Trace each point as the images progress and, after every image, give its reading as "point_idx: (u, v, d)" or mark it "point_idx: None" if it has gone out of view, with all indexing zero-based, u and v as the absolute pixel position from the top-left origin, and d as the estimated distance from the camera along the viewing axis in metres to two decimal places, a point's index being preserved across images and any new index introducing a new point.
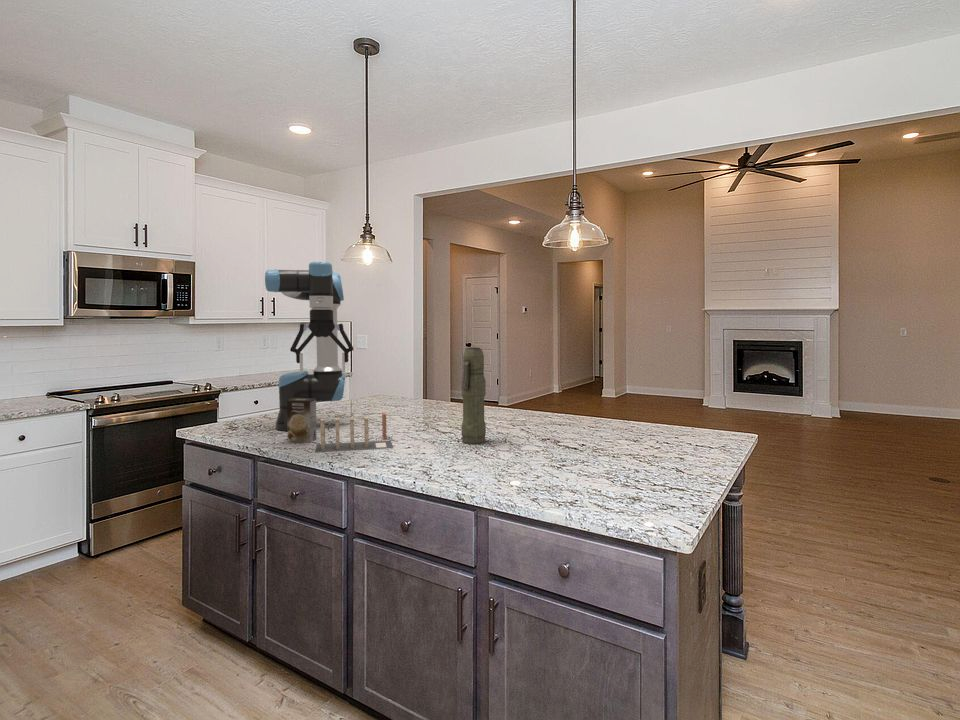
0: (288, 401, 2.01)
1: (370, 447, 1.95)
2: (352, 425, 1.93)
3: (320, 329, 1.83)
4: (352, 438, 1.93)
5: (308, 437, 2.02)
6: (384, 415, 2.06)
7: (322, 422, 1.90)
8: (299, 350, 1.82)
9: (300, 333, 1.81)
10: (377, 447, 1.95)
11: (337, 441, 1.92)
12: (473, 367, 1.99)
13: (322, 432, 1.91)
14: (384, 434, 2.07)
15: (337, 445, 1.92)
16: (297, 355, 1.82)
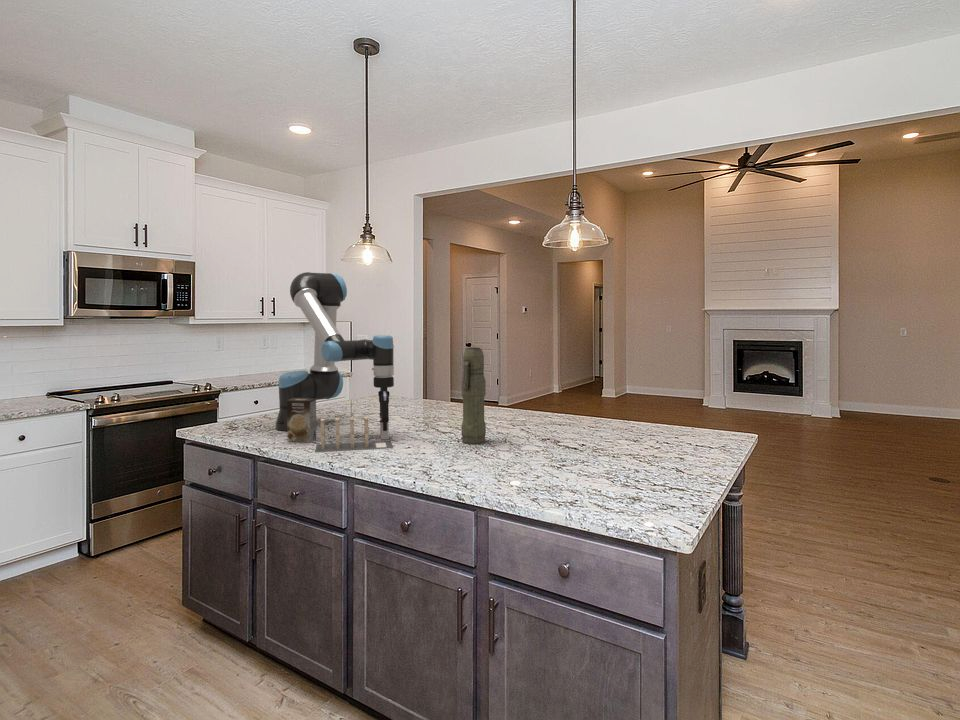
0: (288, 401, 2.01)
1: (370, 447, 1.95)
2: (352, 425, 1.93)
3: None
4: (352, 438, 1.93)
5: (308, 437, 2.02)
6: None
7: (322, 422, 1.90)
8: (380, 415, 2.12)
9: None
10: (377, 447, 1.95)
11: (337, 441, 1.92)
12: (473, 367, 1.99)
13: (322, 432, 1.91)
14: None
15: (337, 445, 1.92)
16: None
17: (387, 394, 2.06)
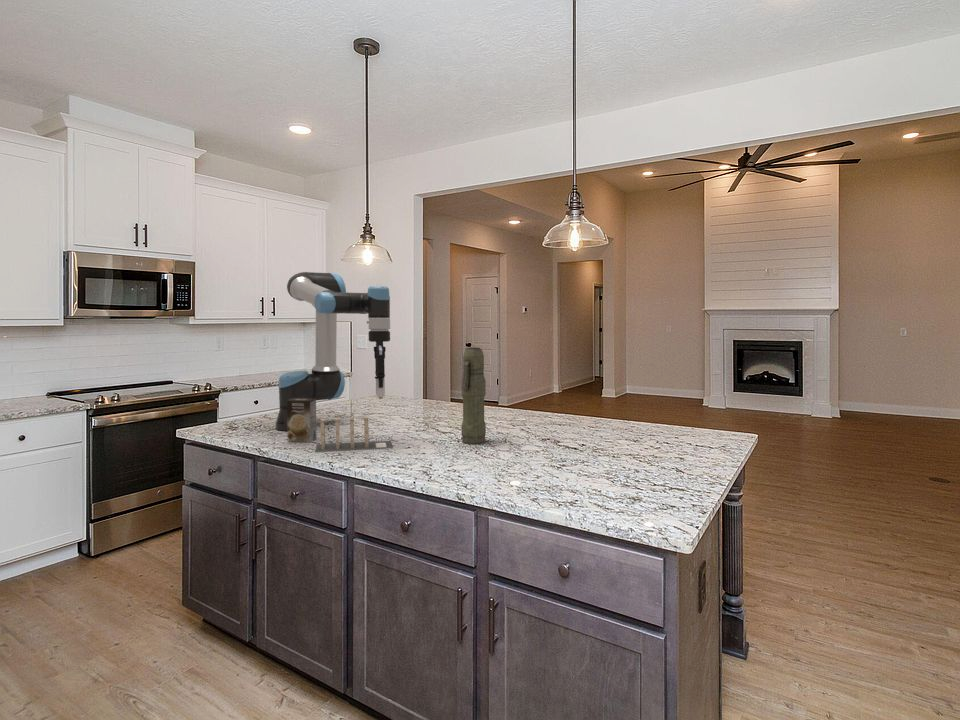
0: (288, 401, 2.01)
1: (370, 447, 1.95)
2: (352, 425, 1.93)
3: None
4: (352, 438, 1.93)
5: (308, 437, 2.02)
6: None
7: (322, 422, 1.90)
8: (375, 373, 1.99)
9: None
10: (377, 447, 1.95)
11: (337, 441, 1.92)
12: (473, 367, 1.99)
13: (322, 432, 1.91)
14: None
15: (337, 445, 1.92)
16: None
17: (383, 349, 1.94)
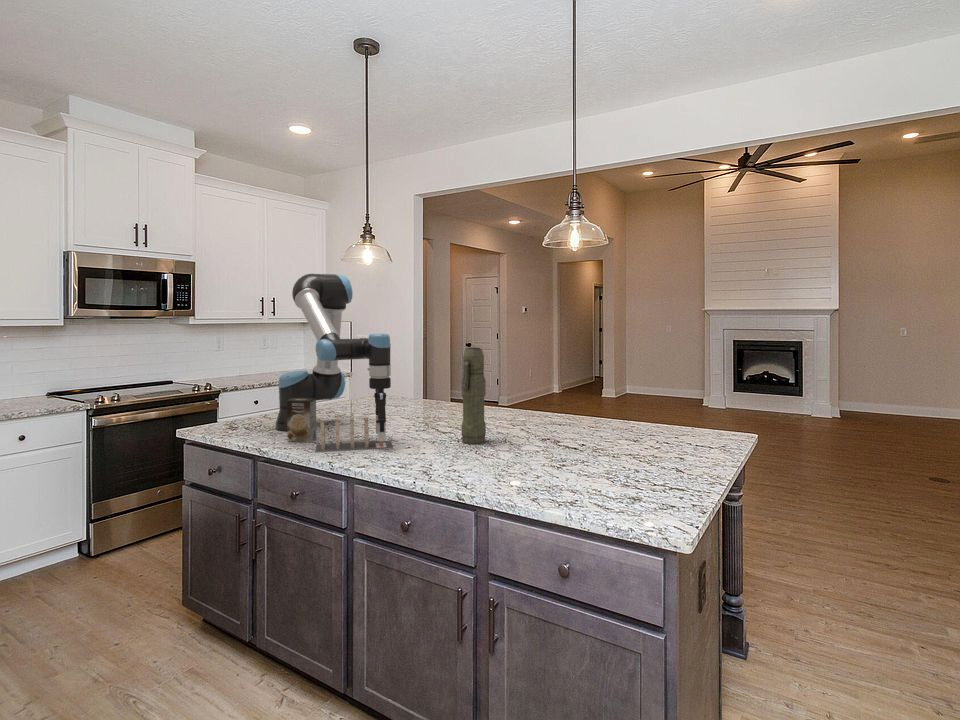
0: (288, 401, 2.01)
1: (370, 447, 1.95)
2: (352, 425, 1.93)
3: None
4: (352, 438, 1.93)
5: (308, 437, 2.02)
6: None
7: (322, 422, 1.90)
8: (376, 412, 2.04)
9: None
10: (377, 447, 1.95)
11: (337, 441, 1.92)
12: (473, 367, 1.99)
13: (322, 432, 1.91)
14: None
15: (337, 445, 1.92)
16: None
17: None
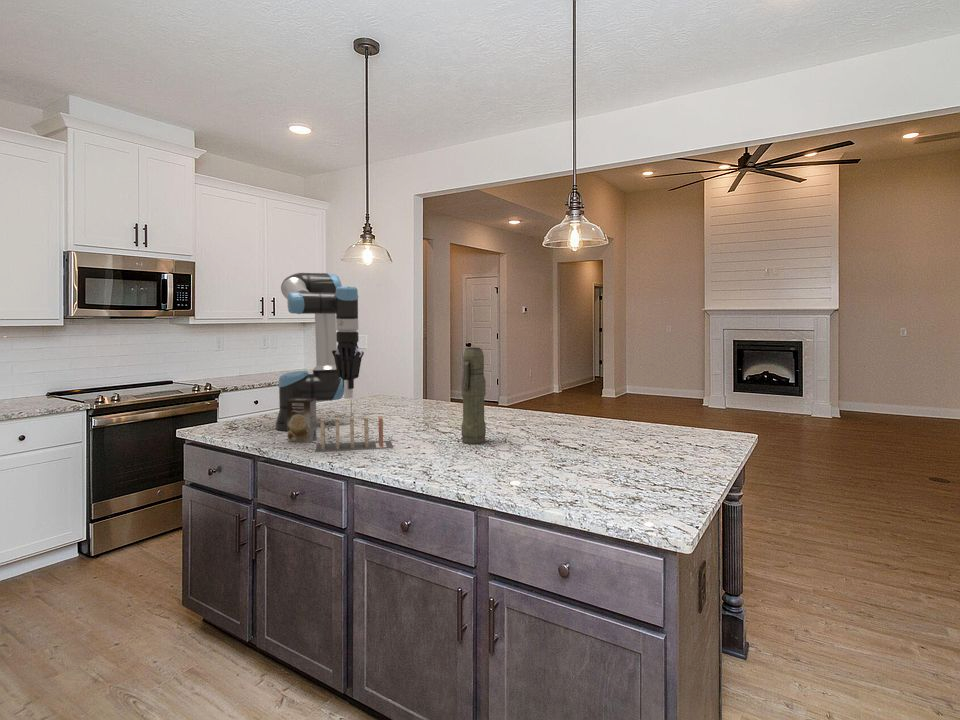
0: (288, 401, 2.01)
1: (370, 447, 1.95)
2: (352, 425, 1.93)
3: (344, 348, 1.92)
4: (352, 438, 1.93)
5: (308, 437, 2.02)
6: (380, 419, 1.95)
7: (322, 422, 1.90)
8: (343, 376, 1.94)
9: (336, 358, 1.95)
10: (377, 447, 1.95)
11: (337, 441, 1.92)
12: (473, 367, 1.99)
13: (322, 432, 1.91)
14: (380, 440, 1.96)
15: (337, 445, 1.92)
16: (343, 381, 1.94)
17: None
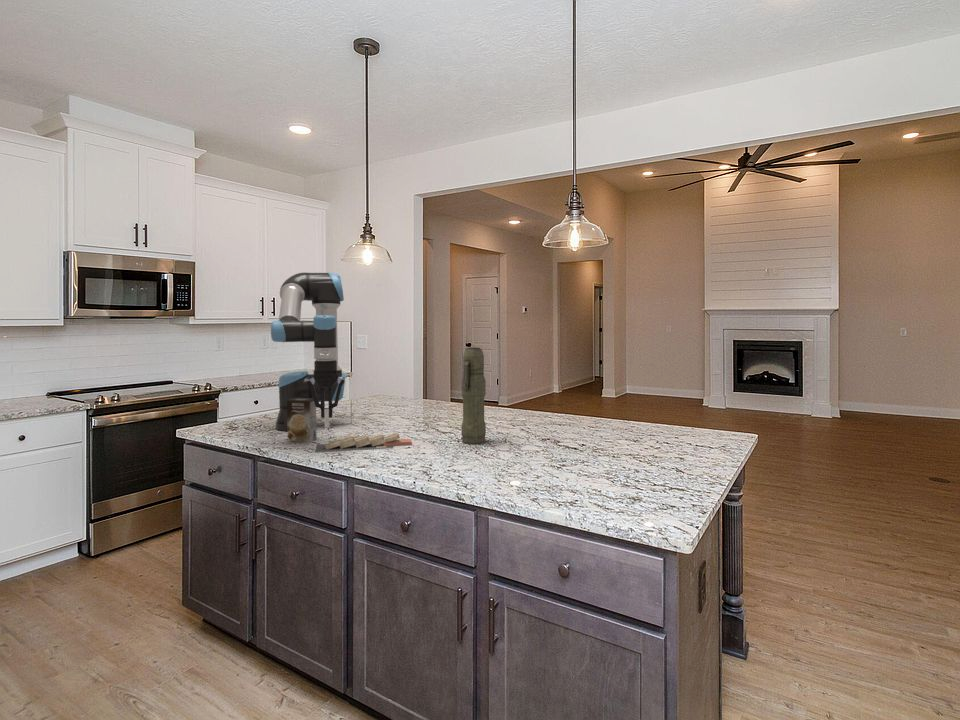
0: (288, 401, 2.01)
1: (370, 447, 1.95)
2: (378, 439, 1.95)
3: (324, 377, 1.91)
4: (365, 443, 1.95)
5: (308, 437, 2.02)
6: (410, 443, 1.98)
7: (353, 440, 1.93)
8: (323, 405, 1.91)
9: (312, 388, 1.90)
10: (377, 447, 1.95)
11: (348, 444, 1.93)
12: (473, 367, 1.99)
13: (343, 443, 1.93)
14: (390, 444, 1.97)
15: (344, 446, 1.93)
16: (322, 410, 1.92)
17: None
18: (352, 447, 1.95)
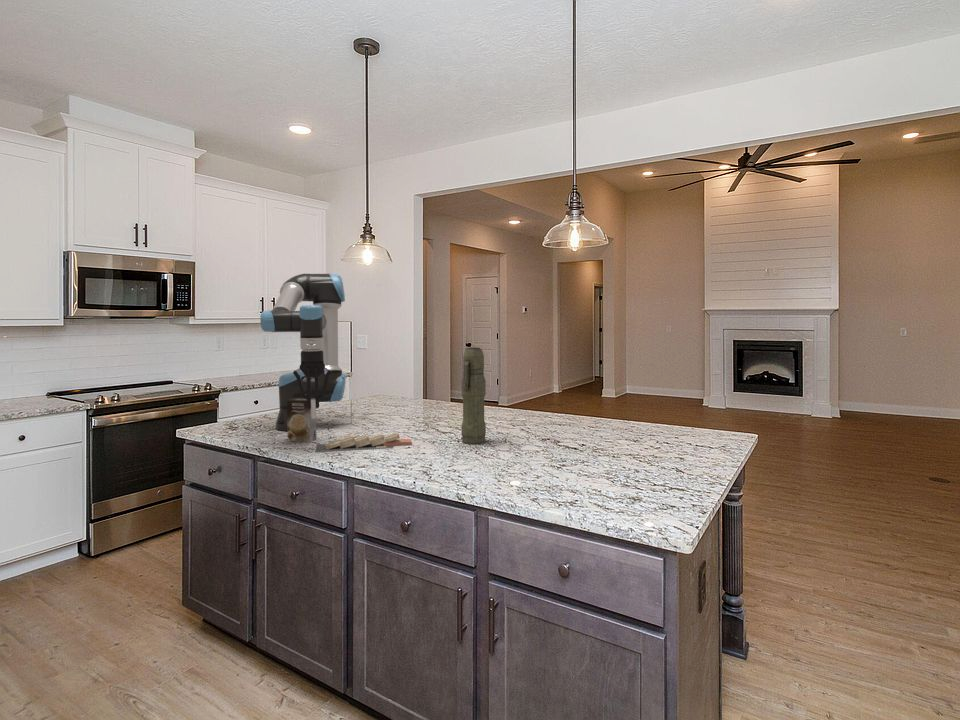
0: (288, 401, 2.01)
1: (370, 447, 1.95)
2: (378, 439, 1.95)
3: (311, 368, 1.90)
4: (365, 443, 1.95)
5: (308, 437, 2.02)
6: (410, 443, 1.98)
7: (353, 440, 1.93)
8: (309, 396, 1.90)
9: (299, 379, 1.89)
10: (377, 447, 1.95)
11: (348, 444, 1.93)
12: (473, 367, 1.99)
13: (343, 443, 1.93)
14: (390, 444, 1.97)
15: (344, 446, 1.93)
16: (308, 401, 1.91)
17: None
18: (352, 447, 1.95)
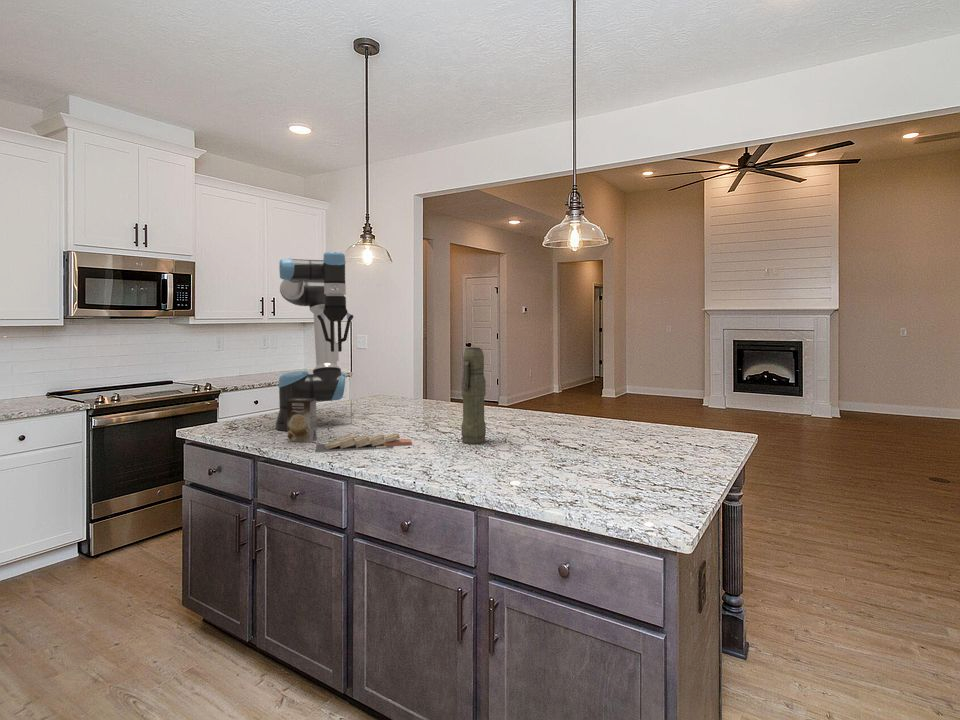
0: (288, 401, 2.01)
1: (370, 447, 1.95)
2: (378, 439, 1.95)
3: (334, 312, 1.99)
4: (365, 443, 1.95)
5: (308, 437, 2.02)
6: (410, 443, 1.98)
7: (353, 440, 1.93)
8: (332, 339, 1.99)
9: (322, 323, 1.98)
10: (377, 447, 1.95)
11: (348, 444, 1.93)
12: (473, 367, 1.99)
13: (343, 443, 1.93)
14: (390, 444, 1.97)
15: (344, 446, 1.93)
16: (331, 344, 2.00)
17: None
18: (352, 447, 1.95)
